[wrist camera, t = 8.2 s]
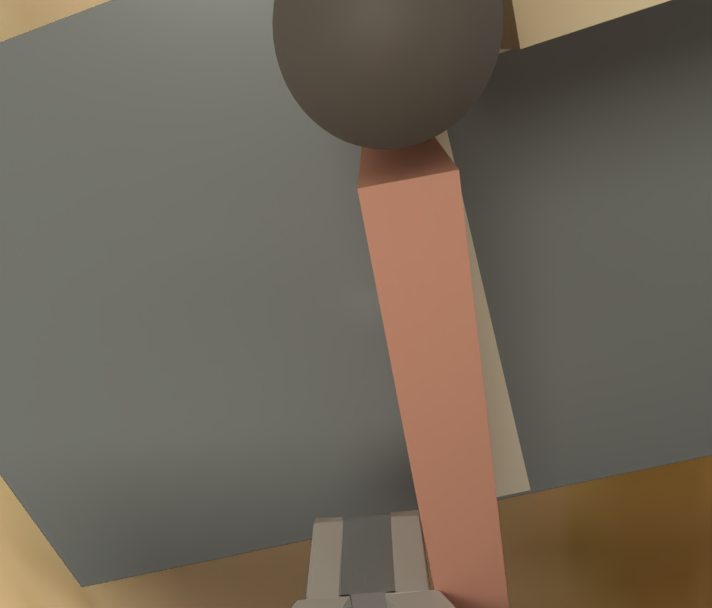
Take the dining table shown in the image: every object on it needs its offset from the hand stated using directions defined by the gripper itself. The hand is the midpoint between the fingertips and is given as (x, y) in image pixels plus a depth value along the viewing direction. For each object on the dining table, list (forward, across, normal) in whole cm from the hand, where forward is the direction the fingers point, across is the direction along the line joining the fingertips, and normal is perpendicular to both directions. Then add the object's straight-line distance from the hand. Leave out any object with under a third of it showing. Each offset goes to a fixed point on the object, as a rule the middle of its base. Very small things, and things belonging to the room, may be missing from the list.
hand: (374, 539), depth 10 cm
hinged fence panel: (+3, -1, -2) cm, 4 cm away
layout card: (+4, -2, -4) cm, 6 cm away
